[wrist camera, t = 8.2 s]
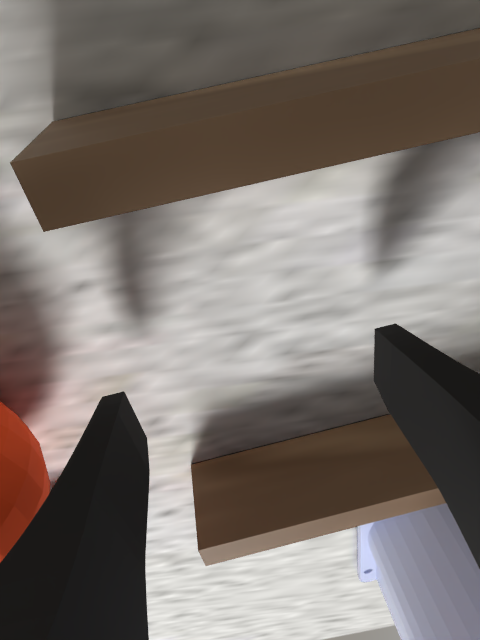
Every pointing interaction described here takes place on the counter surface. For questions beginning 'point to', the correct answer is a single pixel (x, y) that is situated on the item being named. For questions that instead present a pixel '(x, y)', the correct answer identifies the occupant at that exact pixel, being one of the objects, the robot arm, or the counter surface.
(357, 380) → the counter surface
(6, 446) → the clementine
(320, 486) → the brown wooden frame
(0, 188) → the counter surface
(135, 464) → the robot arm
